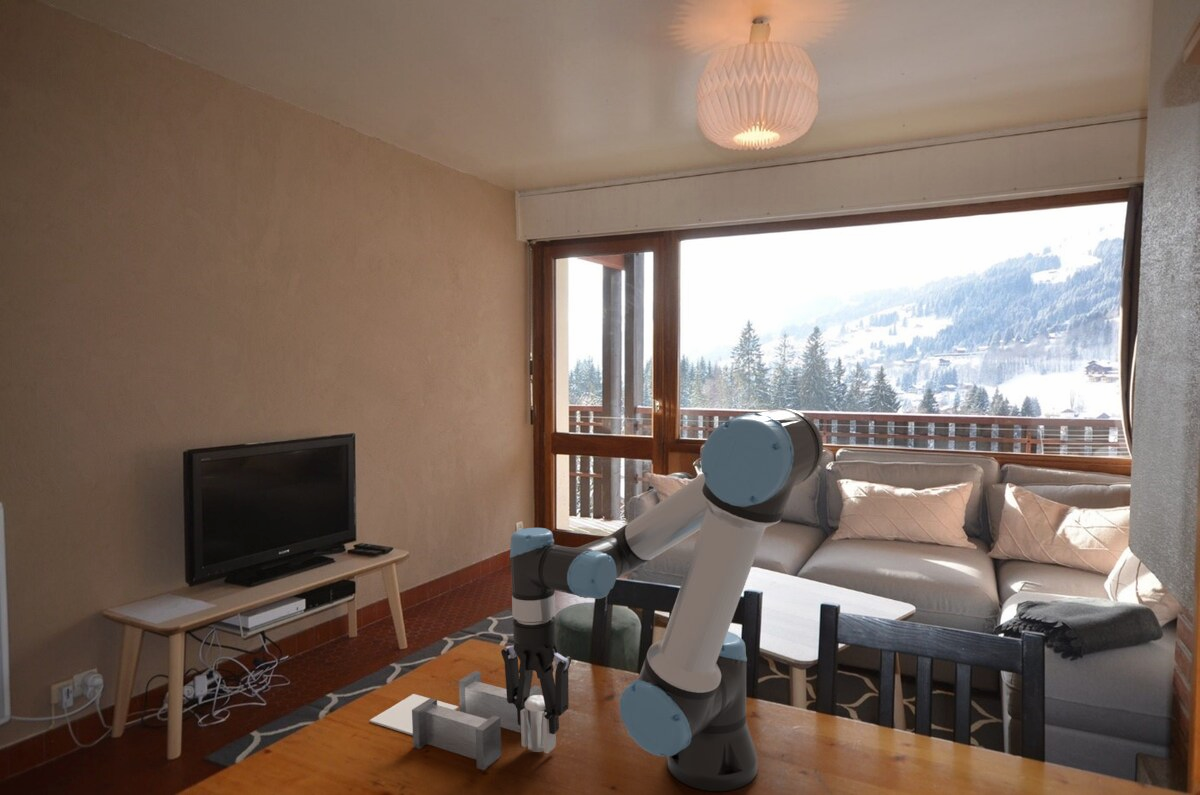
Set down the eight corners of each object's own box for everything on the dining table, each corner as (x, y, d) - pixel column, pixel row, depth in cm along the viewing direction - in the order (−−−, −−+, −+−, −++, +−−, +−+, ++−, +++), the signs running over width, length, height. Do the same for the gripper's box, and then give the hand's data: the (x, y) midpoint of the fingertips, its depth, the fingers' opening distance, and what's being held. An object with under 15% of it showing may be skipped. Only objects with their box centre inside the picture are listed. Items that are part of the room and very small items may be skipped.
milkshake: (550, 756, 128) (550, 701, 127) (520, 752, 129) (521, 697, 128) (557, 742, 132) (557, 688, 131) (528, 738, 133) (528, 685, 132)
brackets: (542, 722, 141) (541, 686, 140) (483, 770, 125) (482, 730, 125) (476, 704, 149) (474, 670, 148) (413, 747, 133) (411, 709, 132)
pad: (458, 708, 147) (458, 706, 147) (416, 736, 136) (416, 734, 136) (413, 695, 153) (413, 693, 153) (369, 721, 142) (369, 719, 142)
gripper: (587, 617, 128) (591, 747, 129) (507, 603, 136) (511, 725, 138) (564, 632, 121) (569, 769, 123) (482, 617, 130) (487, 745, 131)
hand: (538, 746), depth 130 cm, fingers closed on milkshake, 4 cm apart
